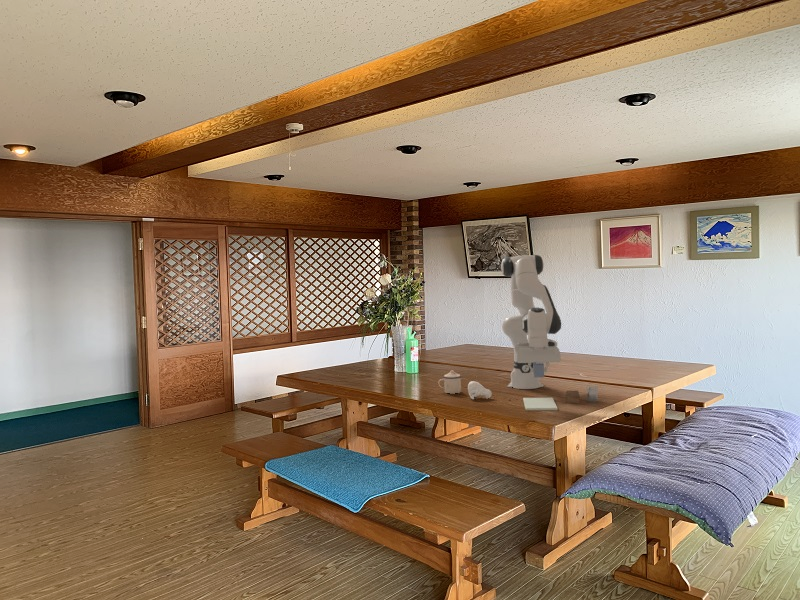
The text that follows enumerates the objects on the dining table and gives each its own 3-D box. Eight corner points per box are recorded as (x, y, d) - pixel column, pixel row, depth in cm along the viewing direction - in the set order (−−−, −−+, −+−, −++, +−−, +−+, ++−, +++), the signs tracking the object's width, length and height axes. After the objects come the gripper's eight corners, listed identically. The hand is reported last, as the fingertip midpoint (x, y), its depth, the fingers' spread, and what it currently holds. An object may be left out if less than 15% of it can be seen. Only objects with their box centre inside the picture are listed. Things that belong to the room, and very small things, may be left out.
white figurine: (469, 379, 302) (493, 382, 299) (468, 396, 303) (492, 399, 300) (467, 382, 296) (491, 384, 293) (466, 399, 297) (490, 401, 294)
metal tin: (586, 400, 285) (585, 385, 285) (596, 400, 284) (596, 385, 284) (587, 402, 280) (587, 387, 280) (598, 402, 279) (598, 387, 279)
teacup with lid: (461, 390, 320) (460, 369, 319) (461, 394, 311) (461, 371, 310) (438, 391, 320) (437, 369, 320) (438, 394, 311) (438, 372, 311)
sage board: (523, 399, 291) (523, 397, 291) (552, 399, 289) (552, 397, 289) (525, 410, 269) (525, 408, 269) (557, 410, 267) (557, 408, 267)
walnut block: (566, 401, 285) (566, 390, 285) (577, 400, 285) (577, 390, 284) (568, 403, 281) (568, 392, 280) (579, 403, 280) (579, 392, 280)
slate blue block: (533, 375, 281) (533, 363, 281) (543, 375, 280) (543, 363, 280) (534, 377, 276) (533, 364, 276) (544, 377, 276) (543, 364, 276)
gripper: (515, 344, 276) (516, 373, 277) (560, 342, 273) (561, 372, 274) (514, 342, 282) (515, 371, 283) (559, 341, 279) (560, 370, 280)
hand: (538, 372), depth 278 cm, fingers closed on slate blue block, 4 cm apart
